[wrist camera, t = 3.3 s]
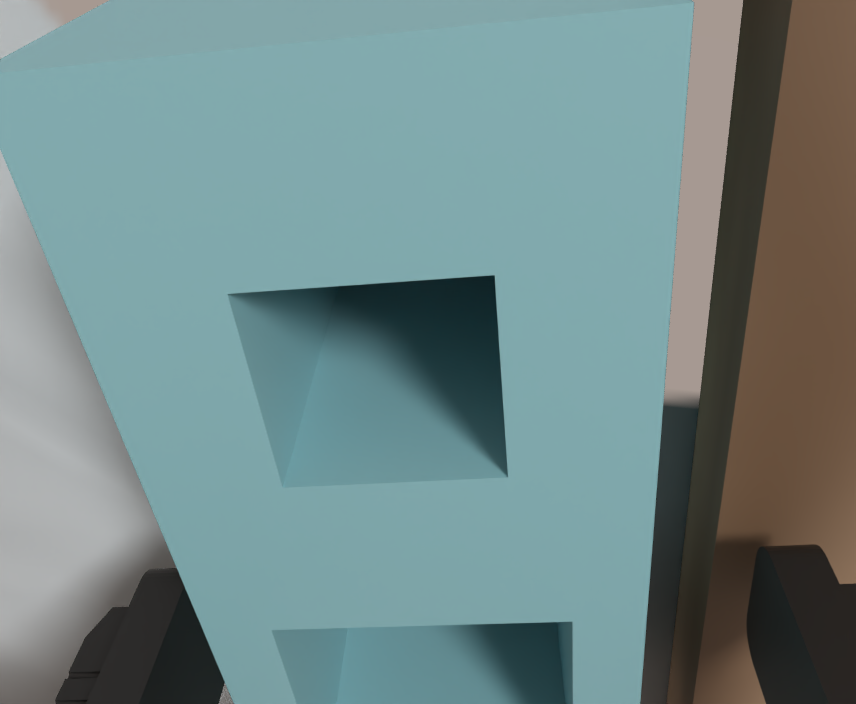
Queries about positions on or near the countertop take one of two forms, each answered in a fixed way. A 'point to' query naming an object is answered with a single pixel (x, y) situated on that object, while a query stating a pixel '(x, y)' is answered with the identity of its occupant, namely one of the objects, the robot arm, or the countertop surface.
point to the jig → (774, 340)
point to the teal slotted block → (377, 322)
